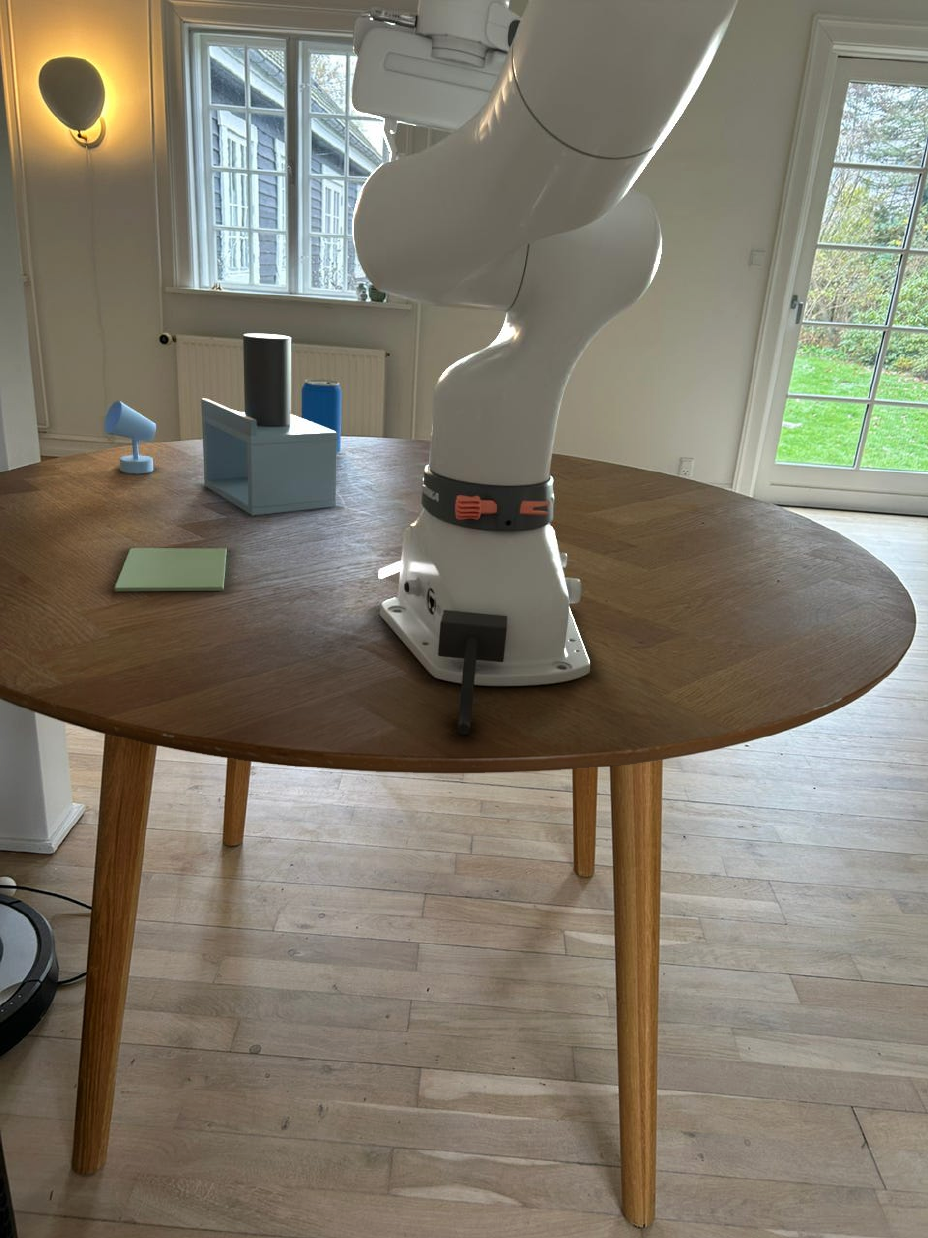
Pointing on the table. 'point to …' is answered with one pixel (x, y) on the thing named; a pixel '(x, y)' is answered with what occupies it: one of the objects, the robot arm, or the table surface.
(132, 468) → the spotlight
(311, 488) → the shelf
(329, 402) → the beverage can
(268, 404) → the dark grey cylinder
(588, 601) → the table surface
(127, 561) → the mat
